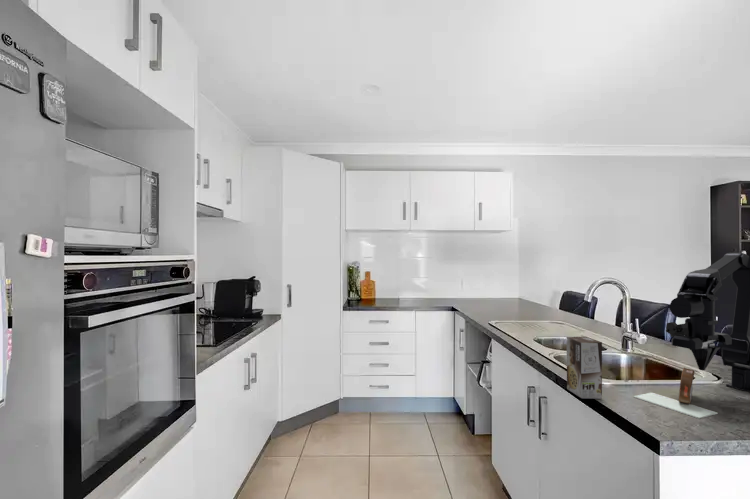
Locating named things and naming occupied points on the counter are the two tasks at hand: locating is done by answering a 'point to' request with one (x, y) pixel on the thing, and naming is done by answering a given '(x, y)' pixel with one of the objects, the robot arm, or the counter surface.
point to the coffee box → (584, 367)
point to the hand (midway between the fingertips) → (701, 370)
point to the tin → (686, 386)
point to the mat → (676, 405)
